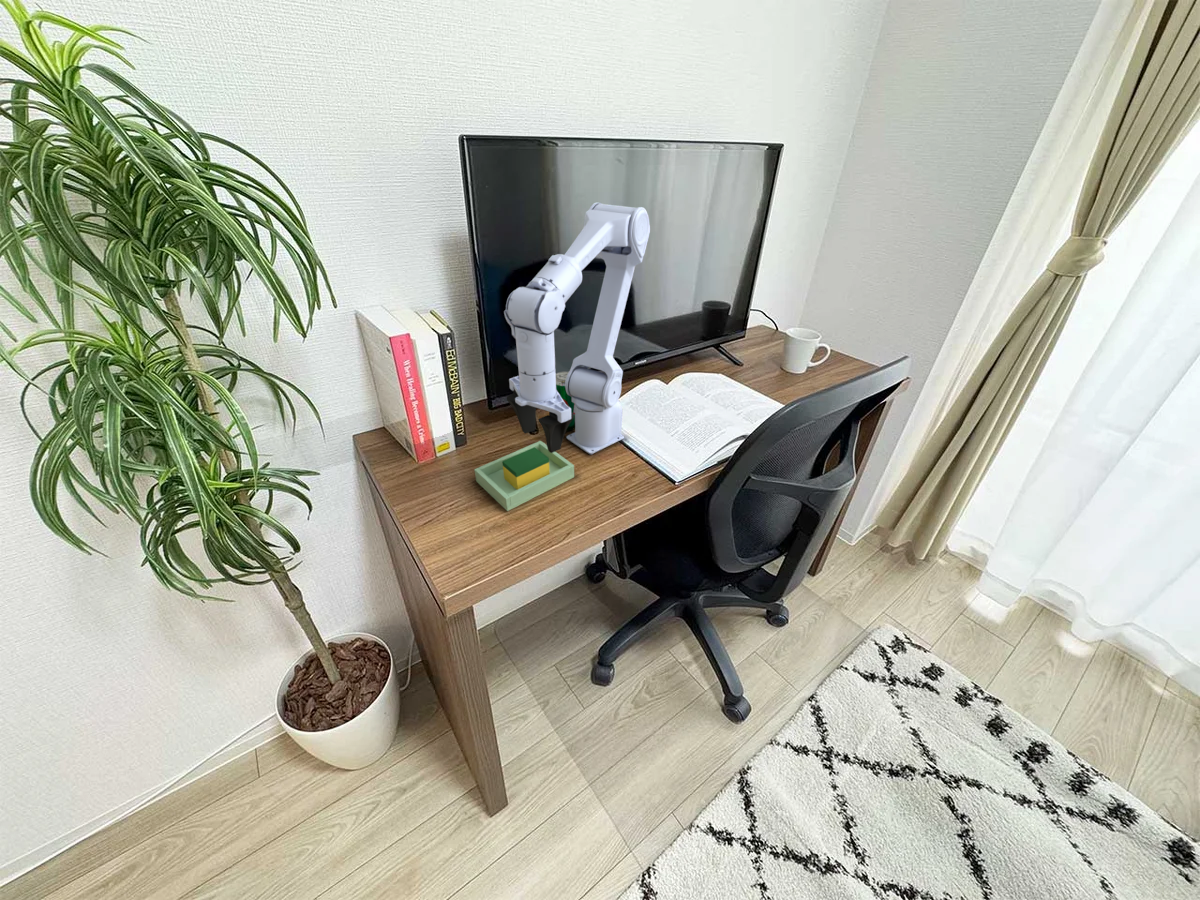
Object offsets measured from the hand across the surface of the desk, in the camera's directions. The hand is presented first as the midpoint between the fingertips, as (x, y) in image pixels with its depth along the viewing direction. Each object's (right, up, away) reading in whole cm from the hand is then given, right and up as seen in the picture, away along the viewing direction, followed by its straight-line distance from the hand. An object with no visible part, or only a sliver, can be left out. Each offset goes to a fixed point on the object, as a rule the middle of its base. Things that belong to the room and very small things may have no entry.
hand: (541, 440), depth 81 cm
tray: (-4, -7, +6) cm, 10 cm away
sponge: (-3, -7, +5) cm, 9 cm away
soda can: (+3, +3, +22) cm, 22 cm away
